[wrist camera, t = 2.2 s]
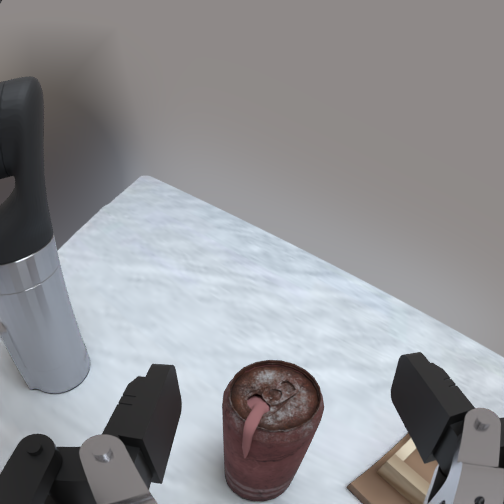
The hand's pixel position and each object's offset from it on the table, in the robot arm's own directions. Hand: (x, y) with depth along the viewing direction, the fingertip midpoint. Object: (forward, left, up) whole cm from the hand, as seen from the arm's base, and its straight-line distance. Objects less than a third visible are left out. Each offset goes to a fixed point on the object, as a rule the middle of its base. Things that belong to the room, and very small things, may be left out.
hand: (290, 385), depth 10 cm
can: (+3, +3, -20) cm, 21 cm away
